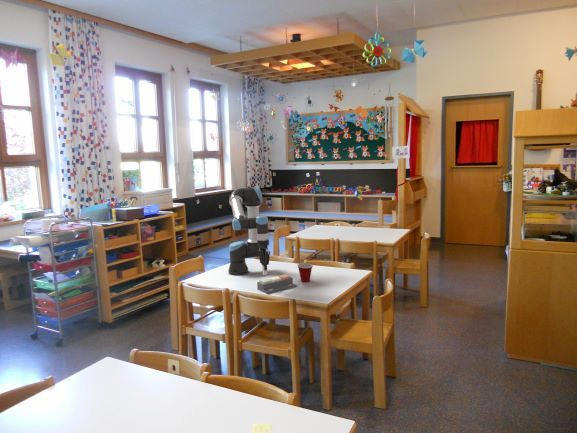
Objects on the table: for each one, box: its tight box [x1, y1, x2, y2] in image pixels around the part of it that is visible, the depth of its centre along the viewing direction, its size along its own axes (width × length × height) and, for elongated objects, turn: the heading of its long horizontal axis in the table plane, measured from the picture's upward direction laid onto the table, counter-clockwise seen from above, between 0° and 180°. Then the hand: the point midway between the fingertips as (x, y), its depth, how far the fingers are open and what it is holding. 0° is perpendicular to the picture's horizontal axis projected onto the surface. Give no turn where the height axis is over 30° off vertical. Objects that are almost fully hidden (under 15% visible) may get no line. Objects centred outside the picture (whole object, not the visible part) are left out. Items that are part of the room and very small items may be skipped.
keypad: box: [256, 276, 298, 295], centre depth 292 cm, size 13×23×5 cm, turn 123°
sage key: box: [258, 278, 272, 284], centre depth 290 cm, size 6×6×3 cm
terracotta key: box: [277, 273, 291, 280], centre depth 298 cm, size 6×6×3 cm
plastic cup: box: [297, 262, 314, 283], centre depth 304 cm, size 11×11×12 cm
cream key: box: [268, 276, 281, 282], centre depth 294 cm, size 6×6×3 cm
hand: (265, 274), depth 289 cm, fingers closed
